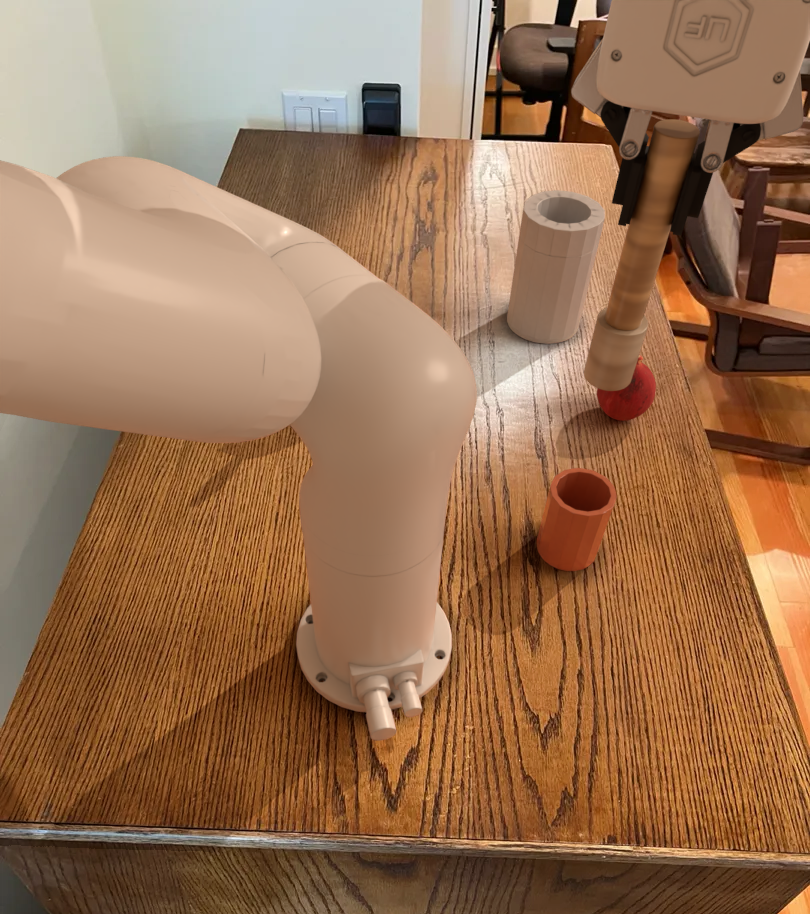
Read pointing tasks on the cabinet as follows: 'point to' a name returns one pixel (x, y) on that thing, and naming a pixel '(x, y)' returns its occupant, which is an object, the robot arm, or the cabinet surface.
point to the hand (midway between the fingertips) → (652, 217)
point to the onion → (630, 395)
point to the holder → (575, 518)
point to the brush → (641, 257)
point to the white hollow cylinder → (553, 265)
